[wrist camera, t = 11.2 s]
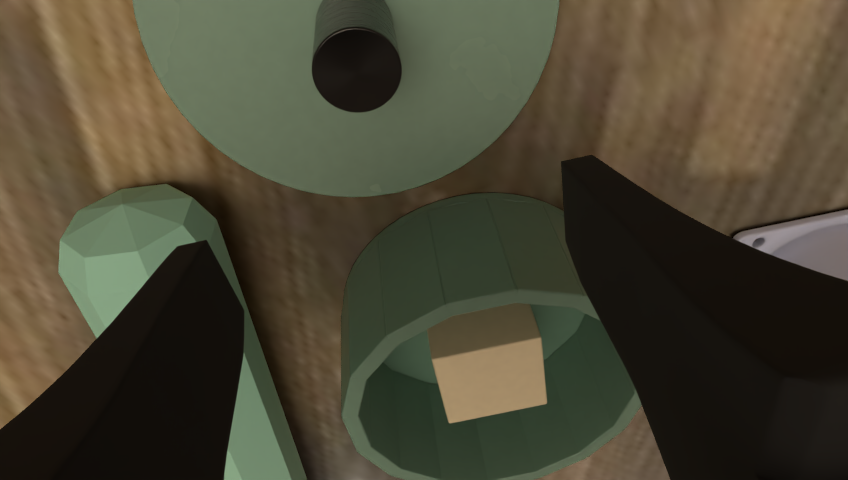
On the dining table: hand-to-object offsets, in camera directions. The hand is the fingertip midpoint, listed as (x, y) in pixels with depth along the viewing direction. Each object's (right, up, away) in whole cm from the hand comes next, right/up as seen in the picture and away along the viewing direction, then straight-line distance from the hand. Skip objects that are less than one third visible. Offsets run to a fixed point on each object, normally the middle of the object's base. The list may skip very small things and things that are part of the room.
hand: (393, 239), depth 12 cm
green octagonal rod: (-8, -7, +16) cm, 20 cm away
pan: (+3, -3, +14) cm, 15 cm away
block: (+3, -3, +14) cm, 14 cm away
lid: (-1, +7, +6) cm, 9 cm away
